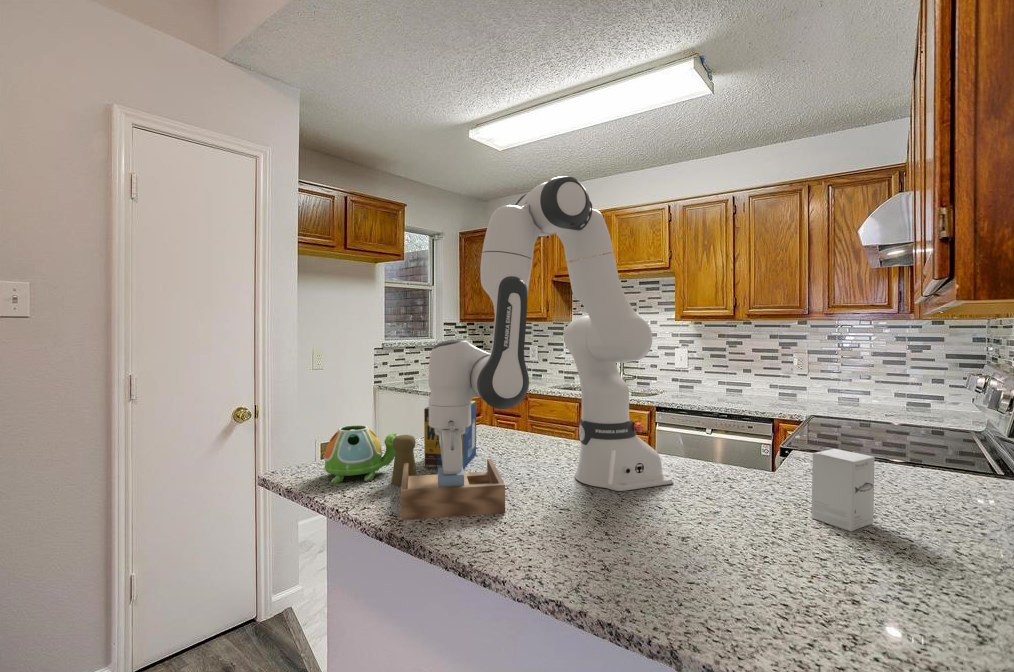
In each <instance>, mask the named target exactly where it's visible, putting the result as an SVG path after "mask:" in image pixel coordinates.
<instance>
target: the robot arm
mask: <svg viewBox="0 0 1014 672" xmlns="http://www.w3.org/2000/svg"><path fill="white" fill-rule="evenodd" d="M552 235H557V237H558V239H560V241H561V243H562V246H563V249H564V256H565V257H564V258H565V262H566V266H567V267H566V268H567V272H568V277H569V282H570V287H571V292H572V294H573V296H574V298H575V300H576V299H577V301H578V302H580V304H581V305H582V306H583V307H584V309H585V311H586V314H587V315H583V316H580V317H578V318H576V319H573V320H571V322H569V323H568V325H567V326H566V327H565V328H564V329H565V330H564V332H563V333H564V334H563V341H564V345H565V347H566V349H567V350H568V352H569V353H570V354H571V356H572V358H573V360H574V363H575V367H576V369H577V373H578V377H579V383H580V391H581V393H580V394H581V395H580V397H581V417H580V419H579V427H578V428H579V442H580V449H579V457H578V462H577V467H576V471H575V474H574V478H575V479H576V480H577V481H579V482H580V483H581V484H582V483H583V484H584V485H589V486H592V487H597V488H603V489H604V488H605V489H609V490H611V491H616V492H624V491H631V490H638V489H645V488H646V489H647V488H651V487H659V486H665V485H666V486H667V485H671V484H673V476H672V475H671V474H670V473H669V472H667V471H666V470H664V469H663V465H662V460H661V457H660V454H659V453H658V452H657V450H656V449H654V448H653V447H652V446H651V445H649V444H648V443H647V442H645V441H644V440H643V439H641V438H640V437H639V436H638V435H637V432H638V433H643V432H644V430H645V425H644V424H643V423H641V422H639V421H638V422H635V421H633V420H631V419H630V389H629V385H628V384H627V383H626V381H625V380H624V379H623V378H622V376H621V374H620V372H619V369H618V365H617V363H620V364H626V363H631V362H634V361H641V360H643V359H644V358H645V357H646V356H647V355H648V354H649V352H650V351H651V348H652V345H653V333H652V329H651V327H650V325H649V323H648V322H647V321H646V320H644V319H643V318H641V316H639V314H638V313H637V312H636V311H635V310H634V309H633V306H632V305H631V303H630V301H629V300H628V299H627V296H626V294H625V292H624V289H623V287H622V284H621V281H620V277H619V272H618V266H617V263H616V257H615V252H614V247H613V242H612V238H611V234H610V232H609V229H608V225H607V223H606V221H605V218H604V216H603V214H602V213H601V212H600V211H599V210H597V209H593V203H592V201H591V200H590V197H589V193H588V191H587V189H586V187H585V186H584V185H583V183H582V182H581V181H580V180H579V179H577V178H575V177H573V176H569V175H564V176H563V175H562V176H561V175H560V176H557V177H553V178H551V179H550V180H548V181H545V182H542V183H540V184H538V185H536V186H535V187H534V188H533V189H531V190H530V191H529V192H528V193H524V195H522V196H521V197H520V198H519V199H518V200H517V202H516V203H515V204H514V205H512V204H508V205H507V204H505V205H501V206H499V207H498V208H496V209H495V210H494V211H493V212H492V214H491V216H490V219H489V222H488V225H487V228H486V232H485V236H484V239H483V244H482V251H481V257H480V265H479V266H480V267H479V268H480V284H481V287H482V288H483V290H484V291H485V293H486V294H487V295H488V297H489V298H490V300H491V302H492V305H493V309H494V321H493V332H492V340H491V341H492V343H491V352H487V351H485V350H482V349H480V348H478V347H476V346H475V345H473V344H471V343H470V342H469V341H468V340H467V339H463V338H458V339H457V338H456V339H450V340H444V341H441V342H438V343H437V344H435V345H434V346H433V347H432V349H431V351H430V355H429V361H428V362H429V364H428V386H429V388H430V389H429V390H430V395H429V400H428V407H429V426H430V427H432V428H435V434H436V435H439V443H440V449H441V459H442V468H443V473H444V474H458V473H461V471H462V441H461V435H462V434H464V433H465V427H468V426H470V425H471V401H472V400H473V398H480V399H482V400H483V401H484V403H486V404H487V405H488V406H490V407H491V408H494V409H497V410H508V409H512V408H515V407H516V406H518V405H519V404H520V403H521V402H522V401H523V400H524V398H525V397H526V395H527V394H528V391H529V387H530V378H529V377H530V376H529V372H528V369H527V364H526V359H525V343H526V331H527V330H526V329H527V328H526V327H527V317H528V297H529V287H530V281H531V276H532V275H531V273H532V266H533V260H534V259H533V258H534V252H535V251H534V249H535V245H536V242H537V239H540V238H543V237H547V236H552Z"/></svg>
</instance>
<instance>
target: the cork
mask: <svg viewBox="0 0 1014 672" xmlns="http://www.w3.org/2000/svg"><path fill="white" fill-rule="evenodd" d="M416 443H417V442H416V438H415V437H414V436H413V435H411V434H410V435H409V434H401V435H398V436H397V437H395V439H394V440H393V447H394V449H395V457H394V459H393V467H392V475H391V486H394V487H399V488H401V484H402V476H403V467H404V463H409V476H418V473H417V467H416V466H417V465H416V458H415V452H414V449H415V447H416Z"/></svg>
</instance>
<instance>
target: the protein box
mask: <svg viewBox="0 0 1014 672" xmlns="http://www.w3.org/2000/svg"><path fill="white" fill-rule="evenodd" d="M423 412H424V413H423V415H424V417H423V418H424V421H423V424H424V432H423V433H424V434H423V435H424V438H423V439H424V441H423V442H424V447H423V449H424V468H425V469H436V468H437V469H436V470H438V468H442V459H441V449H440V443H439V435H436V434H435V428H432V427H430V426H429V406H427V407H425V408H424V409H423ZM461 441H462V467H463V470H464V469H465V468H466V467H467V465H468V464H469V463H470V462H471V461H472V460H473V459H474V458H475V456H477V401H476V400H471V425H470V426H468V427H465V433H464V434H462V435H461Z"/></svg>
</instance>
